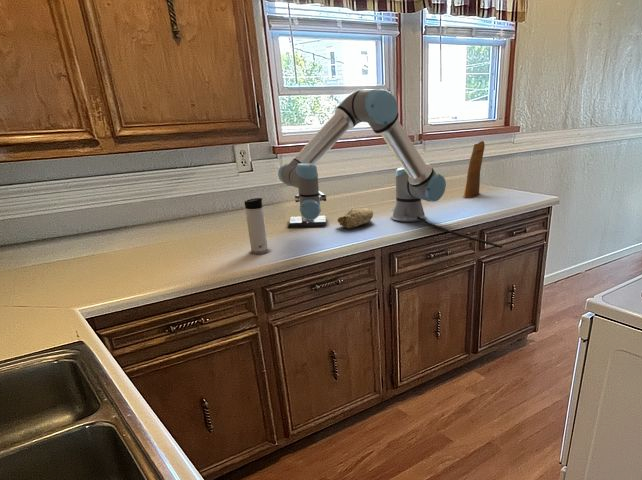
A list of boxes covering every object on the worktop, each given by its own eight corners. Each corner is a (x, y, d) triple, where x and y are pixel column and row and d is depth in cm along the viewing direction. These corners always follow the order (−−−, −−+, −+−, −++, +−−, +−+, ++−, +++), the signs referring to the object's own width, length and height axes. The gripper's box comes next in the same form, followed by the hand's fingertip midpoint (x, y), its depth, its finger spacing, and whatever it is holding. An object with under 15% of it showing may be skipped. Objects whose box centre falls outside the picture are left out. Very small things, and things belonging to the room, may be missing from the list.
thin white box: (309, 216, 240) (308, 198, 236) (313, 216, 239) (312, 198, 235) (301, 221, 231) (299, 202, 227) (305, 221, 231) (304, 202, 227)
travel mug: (264, 254, 195) (257, 200, 185) (248, 253, 196) (240, 199, 186) (271, 249, 200) (265, 196, 191) (255, 248, 201) (248, 196, 192)
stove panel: (325, 219, 243) (325, 214, 242) (326, 226, 231) (325, 222, 230) (291, 220, 241) (290, 215, 240) (289, 228, 229) (289, 223, 228)
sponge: (353, 233, 225) (384, 216, 236) (347, 216, 222) (379, 199, 232) (335, 233, 234) (365, 216, 245) (329, 217, 231) (360, 200, 241)
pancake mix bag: (485, 193, 297) (489, 140, 283) (471, 199, 282) (474, 144, 269) (474, 192, 300) (477, 140, 286) (459, 198, 285) (462, 143, 272)
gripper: (294, 212, 206) (296, 200, 226) (327, 211, 207) (326, 198, 228) (292, 193, 202) (294, 182, 223) (326, 191, 204) (325, 181, 224)
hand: (311, 190), depth 225 cm, fingers closed
